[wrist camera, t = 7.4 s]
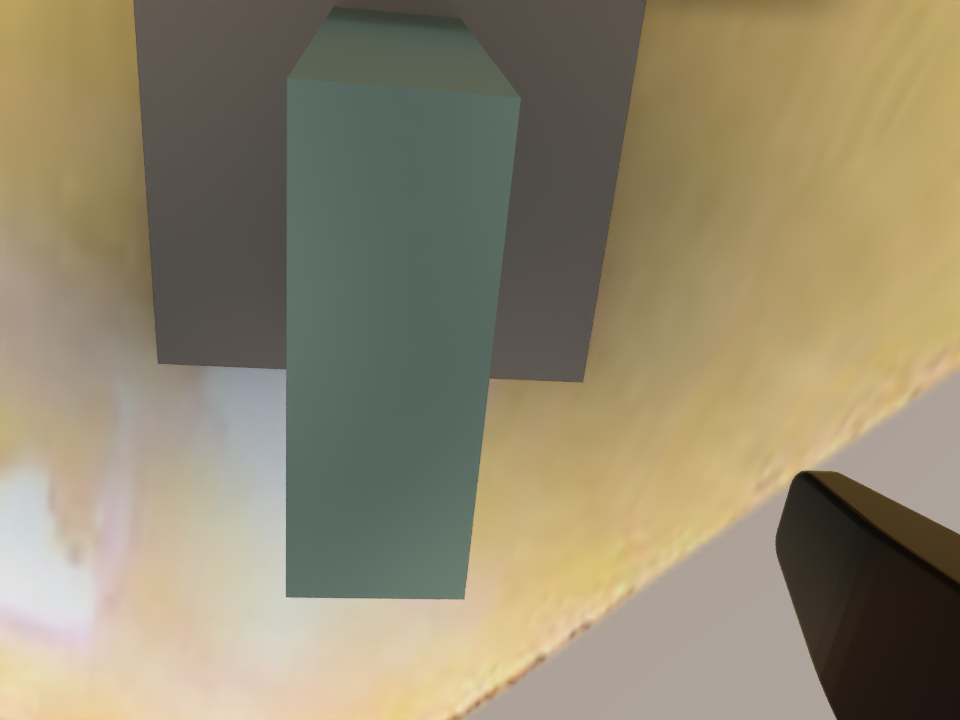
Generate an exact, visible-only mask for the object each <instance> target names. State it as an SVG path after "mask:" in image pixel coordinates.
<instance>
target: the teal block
mask: <svg viewBox="0 0 960 720" xmlns="http://www.w3.org/2000/svg"><path fill="white" fill-rule="evenodd" d="M520 102H521V97H520V96H519V94H518V93H517V92H516V91H515V89H514V88H513V87H512V85H511V84H510V83H509V81H508V80H507V79H506V77H505V76H504V75H503V74H502V72H501V71H500V70H499V68H498V67H497V66H496V64H495V63H494V62H493V60H492V59H491V58H490V56H489V55H488V54H487V53H486V51H485V50H484V49H483V47H482V46H481V45H480V43H479V42H478V41H477V39H476V38H475V37H474V36H473V34H472V33H471V32H470V30H469V29H468V28H467V26H466V25H465V24H464V22H463V21H462V20H461V19H460V18H449V17H439V16H428V15H418V14H407V13H397V12H386V11H376V10H365V9H354V8H344V7H333V9H332V10H331V12H330V13H329V15H328V16H327V18H326V19H325V21H324V22H323V24H322V25H321V27H320V28H319V30H318V31H317V33H316V35H315V36H314V38H313V39H312V41H311V42H310V44H309V45H308V47H307V48H306V50H305V51H304V53H303V54H302V56H301V57H300V59H299V61H298V62H297V64H296V65H295V67H294V68H293V70H292V71H291V73H290V74H289V76H288V77H287V382H286V597H307V598H391V599H464V597H465V588H466V579H467V570H468V561H469V552H470V544H471V535H472V526H473V517H474V508H475V499H476V491H477V482H478V473H479V464H480V455H481V446H482V438H483V429H484V420H485V411H486V402H487V393H488V385H489V376H490V367H491V358H492V349H493V340H494V332H495V323H496V314H497V305H498V296H499V287H500V279H501V270H502V261H503V252H504V243H505V234H506V226H507V217H508V208H509V199H510V190H511V181H512V173H513V164H514V155H515V146H516V137H517V128H518V120H519V111H520Z"/></svg>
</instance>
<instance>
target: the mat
mask: <svg viewBox="0 0 960 720" xmlns="http://www.w3.org/2000/svg"><path fill="white" fill-rule="evenodd" d="M645 5H646V0H134V15H135V30H136V45H137V60H138V75H139V89H140V104H141V119H142V134H143V149H144V164H145V178H146V193H147V208H148V223H149V238H150V253H151V267H152V282H153V297H154V312H155V327H156V342H157V357H158V364H178V365H201V366H224V367H246V368H269V369H287V77H288V76H289V74H290V73H291V71H292V70H293V68H294V67H295V65H296V64H297V62H298V61H299V59H300V57H301V56H302V54H303V53H304V51H305V50H306V48H307V47H308V45H309V44H310V42H311V41H312V39H313V38H314V36H315V35H316V33H317V31H318V30H319V28H320V27H321V25H322V24H323V22H324V21H325V19H326V18H327V16H328V15H329V13H330V12H331V10H332V9H333V7H344V8H354V9H365V10H376V11H386V12H397V13H407V14H418V15H428V16H439V17H449V18H460V19H461V20H462V21H463V22H464V24H465V25H466V26H467V28H468V29H469V30H470V32H471V33H472V34H473V36H474V37H475V38H476V39H477V41H478V42H479V43H480V45H481V46H482V47H483V49H484V50H485V51H486V53H487V54H488V55H489V56H490V58H491V59H492V60H493V62H494V63H495V64H496V66H497V67H498V68H499V70H500V71H501V72H502V74H503V75H504V76H505V77H506V79H507V80H508V81H509V83H510V84H511V85H512V87H513V88H514V89H515V91H516V92H517V93H518V94H519V96H520V97H521V102H520V111H519V120H518V128H517V137H516V146H515V155H514V164H513V173H512V181H511V190H510V199H509V208H508V217H507V226H506V234H505V243H504V252H503V261H502V270H501V279H500V287H499V296H498V305H497V314H496V323H495V332H494V340H493V349H492V358H491V367H490V376H489V378H495V379H518V380H540V381H563V382H583V379H584V373H585V367H586V361H587V355H588V349H589V343H590V337H591V330H592V324H593V318H594V312H595V306H596V300H597V294H598V288H599V282H600V276H601V270H602V264H603V258H604V252H605V246H606V240H607V234H608V228H609V222H610V216H611V210H612V204H613V198H614V192H615V186H616V180H617V174H618V168H619V162H620V156H621V150H622V144H623V138H624V131H625V125H626V119H627V113H628V107H629V101H630V95H631V89H632V83H633V77H634V71H635V65H636V59H637V53H638V47H639V41H640V35H641V29H642V23H643V17H644V11H645Z"/></svg>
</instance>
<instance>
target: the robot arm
mask: <svg viewBox="0 0 960 720" xmlns="http://www.w3.org/2000/svg"><path fill="white" fill-rule="evenodd" d="M776 553H777V557H778V561H779V564H780V566H781V570H782V573H783V576H784V579H785V582H786V584H787V588H788V591H789V594H790V597H791V600H792V603H793V606H794V609H795V612H796V614H797V618H798V620H799V624H800V626H801V629H802V632H803V635H804V638H805V641H806V644H807V647H808V650H809V653H810V656H811V659H812V662H813V664H814V667H815V670H816V673H817V675H818V678H819V681H820V683H821V685H822V687H823V690H824V692H825V695H826V697H827V699H828V702H829V704H830V706H831V708H832V710H833V713H834V715H835V717H836V719H837V720H960V535H959V534H958V533H956V532H954V531H952V530H950V529H948V528H946V527H944V526H942V525H940V524H938V523H936V522H934V521H932V520H930V519H929V518H927V517H925V516H923V515H921V514H919V513H917V512H915V511H913V510H911V509H909V508H907V507H905V506H903V505H901V504H899V503H897V502H895V501H893V500H891V499H889V498H887V497H885V496H883V495H881V494H880V493H877V492H876V491H874V490H872V489H870V488H868V487H866V486H864V485H862V484H860V483H858V482H856V481H854V480H852V479H850V478H848V477H846V476H844V475H842V474H840V473H838V472H832V471H801V472H800V473H798V474H797V475H796V476H795V477H794V479H793V480H792V483H791V485H790V488H789V492H788V495H787V499H786V502H785V506H784V509H783V512H782V516H781V519H780V523H779V526H778V529H777V534H776Z"/></svg>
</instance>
